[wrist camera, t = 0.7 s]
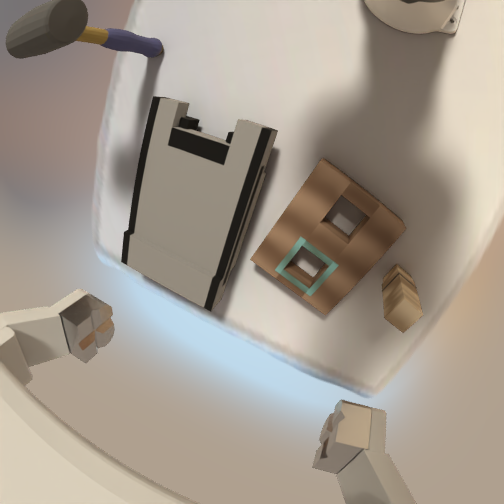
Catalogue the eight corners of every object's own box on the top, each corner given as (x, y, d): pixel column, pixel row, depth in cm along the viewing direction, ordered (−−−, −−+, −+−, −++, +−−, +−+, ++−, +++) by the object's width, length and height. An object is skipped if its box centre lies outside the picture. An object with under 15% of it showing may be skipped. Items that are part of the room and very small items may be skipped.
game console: (283, 130, 45) (269, 130, 38) (229, 289, 60) (211, 311, 53) (176, 98, 48) (148, 96, 41) (145, 246, 64) (121, 261, 56)
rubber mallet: (130, 67, 48) (-3, 62, 22) (136, 34, 45) (8, 14, 19) (181, 67, 45) (38, 46, 19) (188, 30, 42) (53, -13, 16)
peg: (396, 261, 47) (404, 298, 36) (413, 276, 46) (423, 314, 36) (380, 278, 49) (383, 318, 38) (397, 292, 48) (403, 333, 38)
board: (323, 157, 44) (320, 160, 41) (402, 220, 44) (406, 228, 40) (257, 250, 54) (249, 259, 51) (328, 303, 54) (325, 316, 50)
